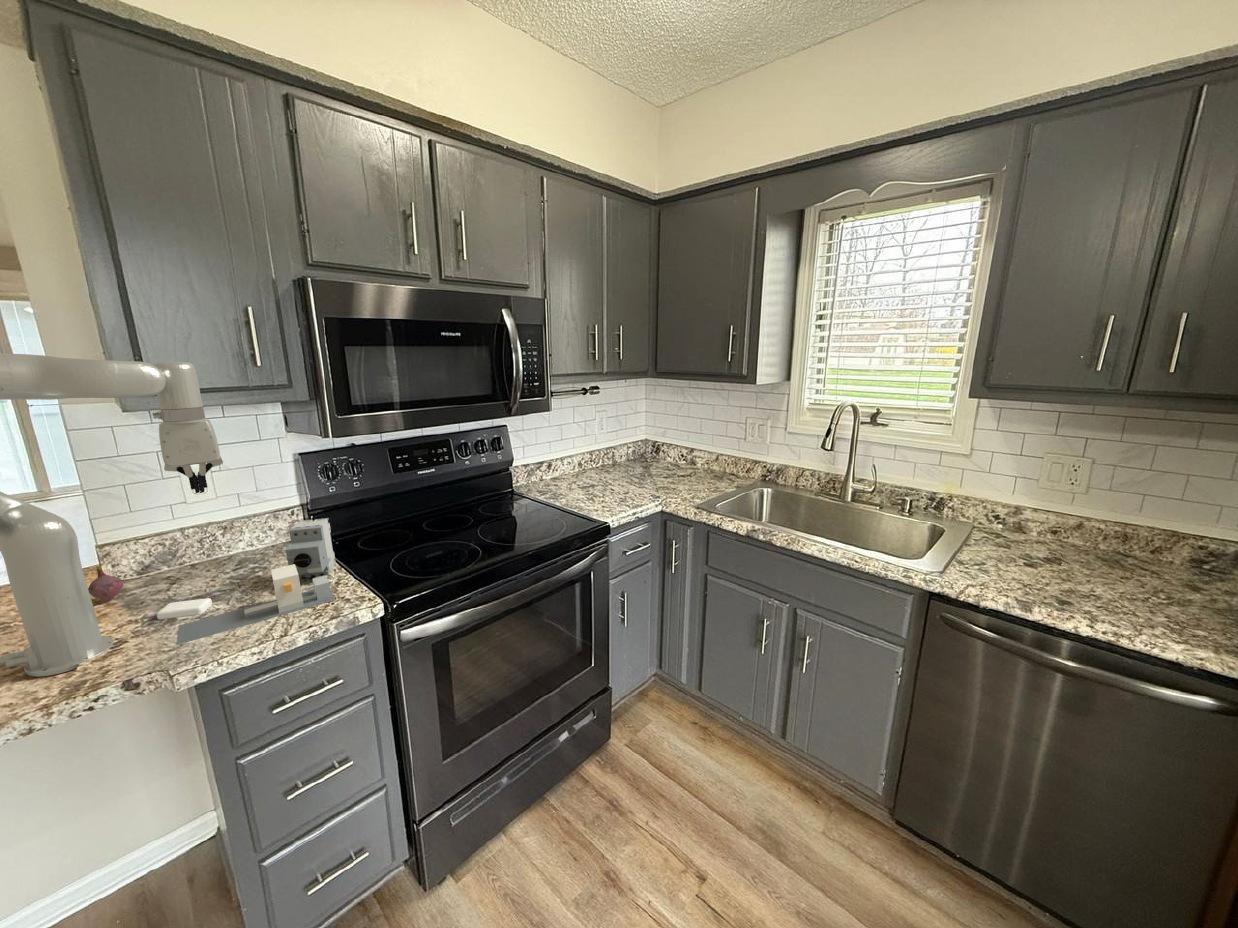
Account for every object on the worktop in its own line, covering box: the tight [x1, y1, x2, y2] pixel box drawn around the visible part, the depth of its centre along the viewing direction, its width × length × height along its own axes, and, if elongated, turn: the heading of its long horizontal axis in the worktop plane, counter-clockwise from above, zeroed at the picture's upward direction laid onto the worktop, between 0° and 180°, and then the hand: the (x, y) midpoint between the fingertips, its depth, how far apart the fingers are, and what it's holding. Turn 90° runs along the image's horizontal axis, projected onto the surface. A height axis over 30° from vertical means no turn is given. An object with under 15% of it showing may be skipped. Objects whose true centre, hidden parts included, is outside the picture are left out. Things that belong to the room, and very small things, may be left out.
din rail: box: [244, 591, 317, 618], centre depth 120 cm, size 15×2×1 cm, turn 129°
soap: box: [156, 597, 213, 620], centre depth 119 cm, size 9×6×3 cm, turn 105°
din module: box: [270, 564, 304, 613], centre depth 120 cm, size 5×9×8 cm, turn 38°
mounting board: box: [176, 588, 336, 646], centre depth 118 cm, size 30×10×1 cm, turn 129°
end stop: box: [312, 575, 332, 600], centre depth 125 cm, size 3×5×4 cm, turn 39°
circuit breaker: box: [285, 517, 336, 579], centre depth 136 cm, size 8×14×15 cm, turn 16°
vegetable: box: [88, 564, 124, 602], centre depth 125 cm, size 6×6×10 cm
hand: (200, 491), depth 119 cm, fingers closed
